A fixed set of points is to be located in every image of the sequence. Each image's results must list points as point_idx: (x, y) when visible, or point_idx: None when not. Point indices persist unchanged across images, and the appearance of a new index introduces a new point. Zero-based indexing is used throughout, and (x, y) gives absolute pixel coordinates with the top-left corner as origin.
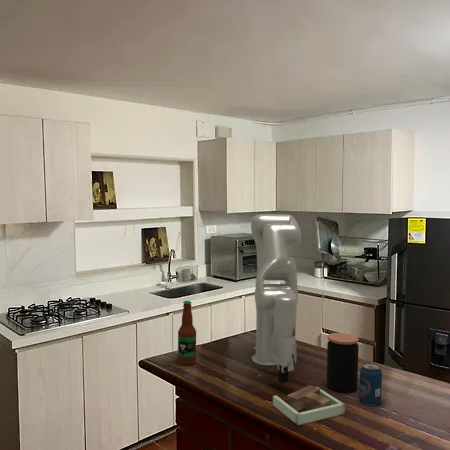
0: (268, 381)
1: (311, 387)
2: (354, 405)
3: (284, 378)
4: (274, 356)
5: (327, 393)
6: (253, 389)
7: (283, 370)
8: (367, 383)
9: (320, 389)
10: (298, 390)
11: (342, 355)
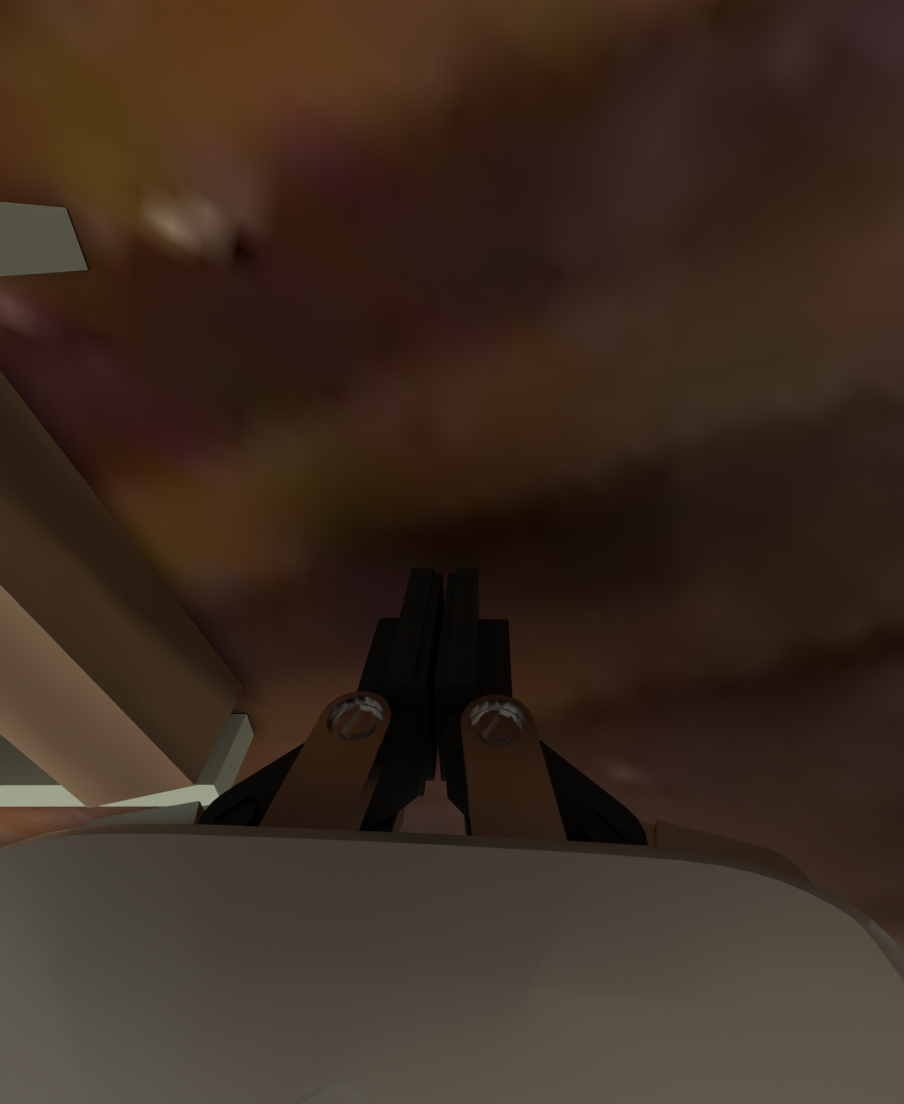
0: (741, 524)
1: (130, 768)
2: (59, 829)
3: (372, 649)
4: (568, 1054)
5: (63, 805)
6: (662, 183)
7: (305, 745)
8: None
9: (156, 801)
10: (39, 630)
11: None
